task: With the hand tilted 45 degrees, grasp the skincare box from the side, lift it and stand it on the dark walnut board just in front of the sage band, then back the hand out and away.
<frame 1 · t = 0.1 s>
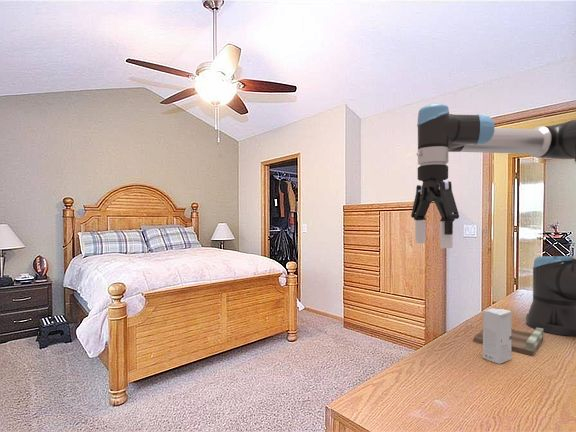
hand: (432, 245, 92), 28 cm above the dresser, tool pointing down, fingers open, 13 cm apart
skincare box: (496, 359, 88), on the dresser
walnut board: (508, 340, 100), on the dresser
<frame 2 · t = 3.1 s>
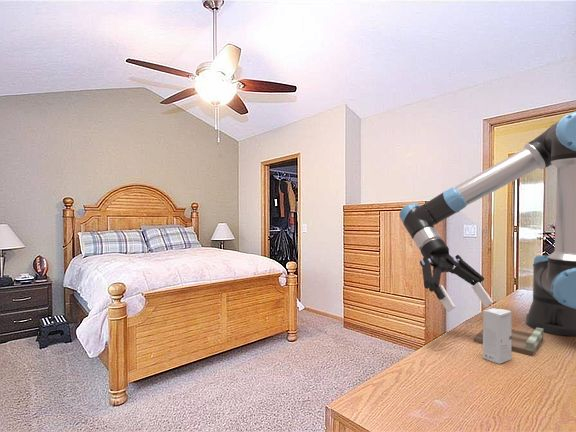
hand: (471, 307, 94), 11 cm above the dresser, tool tilted 45°, fingers open, 13 cm apart
nothing on the dresser moved.
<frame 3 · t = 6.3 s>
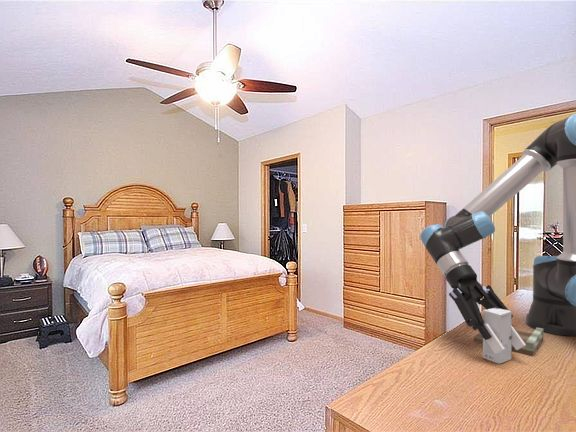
hand: (510, 349, 84), 4 cm above the dresser, tool tilted 45°, fingers closed on skincare box, 6 cm apart
skincare box: (496, 359, 88), on the dresser, touching gripper
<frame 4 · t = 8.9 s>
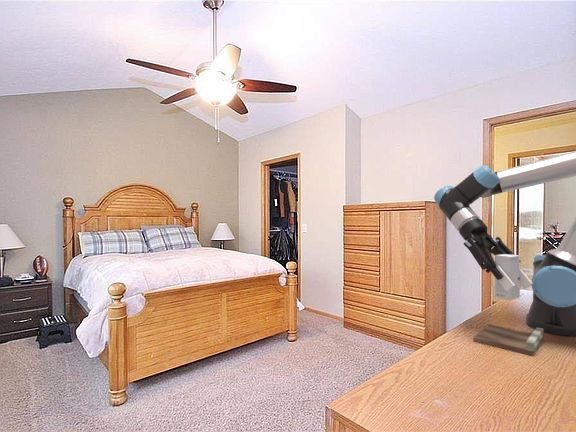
hand: (519, 287, 96), 16 cm above the dresser, tool tilted 45°, fingers closed on skincare box, 6 cm apart
skincare box: (506, 298, 99), point 12 cm above the dresser, touching gripper
when the fingers open (6 cm above the dresser, at t = 11.8 s): skincare box drops 1 cm, resting on walnut board.
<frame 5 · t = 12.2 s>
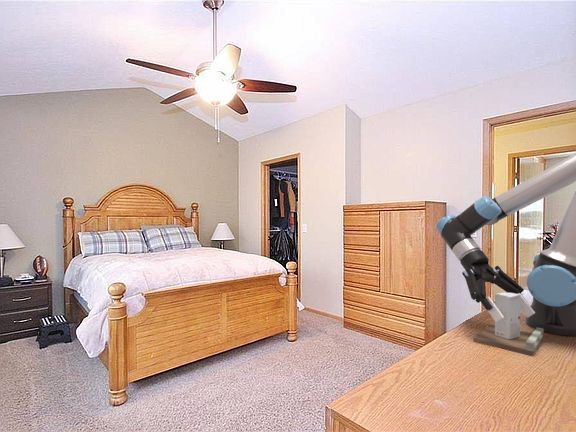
hand: (515, 317, 98), 7 cm above the dresser, tool tilted 45°, fingers open, 12 cm apart
skincare box: (507, 336, 101), point 1 cm above the dresser, touching walnut board
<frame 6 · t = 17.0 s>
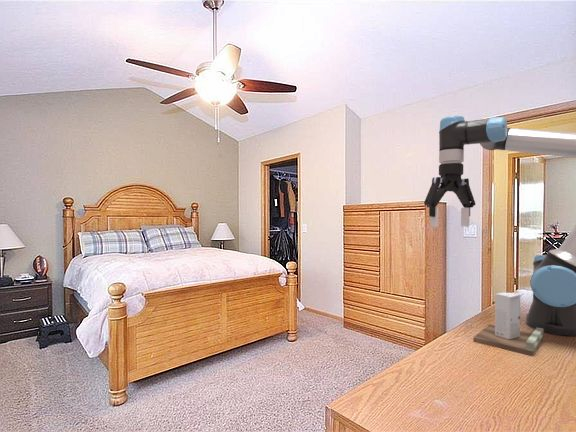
hand: (449, 226, 118), 32 cm above the dresser, tool pointing down, fingers open, 13 cm apart
nothing on the dresser moved.
at the end: skincare box 0.2 cm off-centre on the walnut board, point 1.0 cm above the walnut board's base; skincare box tilted 0°; the gripper is holding nothing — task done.
